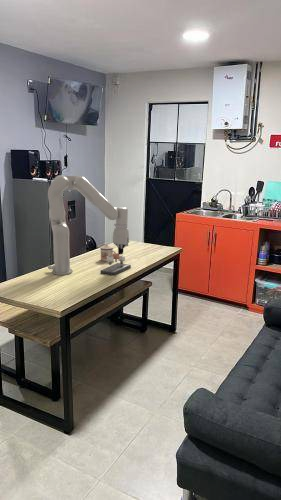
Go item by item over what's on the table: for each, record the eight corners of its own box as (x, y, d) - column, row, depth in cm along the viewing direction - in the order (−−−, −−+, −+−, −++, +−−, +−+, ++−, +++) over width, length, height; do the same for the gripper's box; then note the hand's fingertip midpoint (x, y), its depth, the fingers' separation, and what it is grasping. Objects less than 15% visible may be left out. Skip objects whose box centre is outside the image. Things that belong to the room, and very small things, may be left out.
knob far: (122, 265, 248) (122, 257, 246) (117, 264, 250) (117, 256, 248) (126, 263, 251) (126, 255, 250) (120, 262, 253) (120, 254, 252)
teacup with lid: (97, 260, 269) (97, 244, 267) (104, 257, 277) (104, 241, 274) (112, 262, 264) (112, 246, 261) (119, 259, 272) (119, 243, 269)
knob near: (111, 265, 235) (111, 257, 234) (105, 264, 237) (105, 256, 236) (115, 264, 239) (115, 255, 237) (109, 263, 241) (109, 254, 239)
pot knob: (117, 263, 241) (117, 254, 240) (111, 262, 243) (111, 254, 242) (120, 261, 245) (120, 253, 243) (114, 260, 247) (114, 252, 245)
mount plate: (114, 275, 234) (114, 272, 233) (100, 273, 238) (100, 270, 238) (130, 267, 252) (130, 264, 251) (117, 265, 256) (117, 262, 256)
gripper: (108, 225, 245) (107, 253, 249) (128, 228, 238) (127, 256, 242) (114, 224, 251) (114, 251, 255) (134, 227, 244) (133, 254, 249)
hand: (120, 254), depth 249 cm, fingers closed
